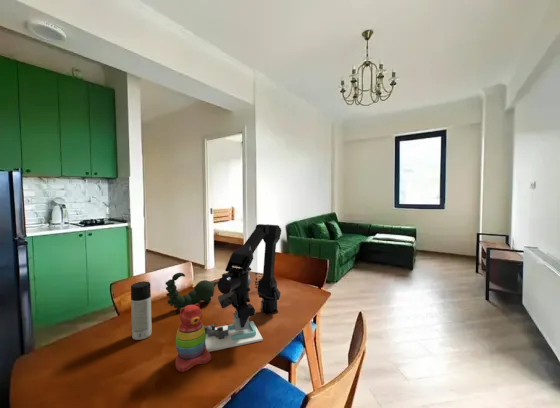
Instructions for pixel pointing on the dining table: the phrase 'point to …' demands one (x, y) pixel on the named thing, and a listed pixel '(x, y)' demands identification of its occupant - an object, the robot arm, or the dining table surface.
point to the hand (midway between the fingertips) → (241, 324)
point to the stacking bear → (191, 339)
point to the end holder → (243, 335)
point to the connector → (237, 323)
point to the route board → (227, 337)
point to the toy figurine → (200, 293)
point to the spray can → (141, 310)
